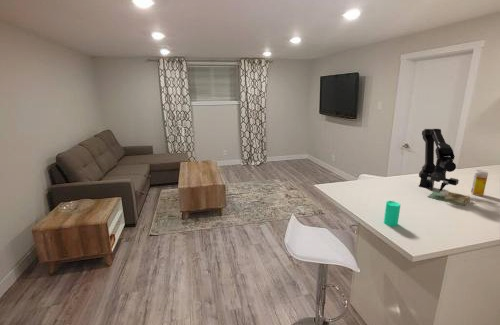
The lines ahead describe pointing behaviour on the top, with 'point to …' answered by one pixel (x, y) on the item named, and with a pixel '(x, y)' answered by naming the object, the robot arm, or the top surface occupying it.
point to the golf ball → (443, 193)
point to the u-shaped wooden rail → (457, 197)
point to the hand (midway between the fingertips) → (435, 191)
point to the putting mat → (443, 198)
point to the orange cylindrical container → (479, 182)
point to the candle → (392, 213)
